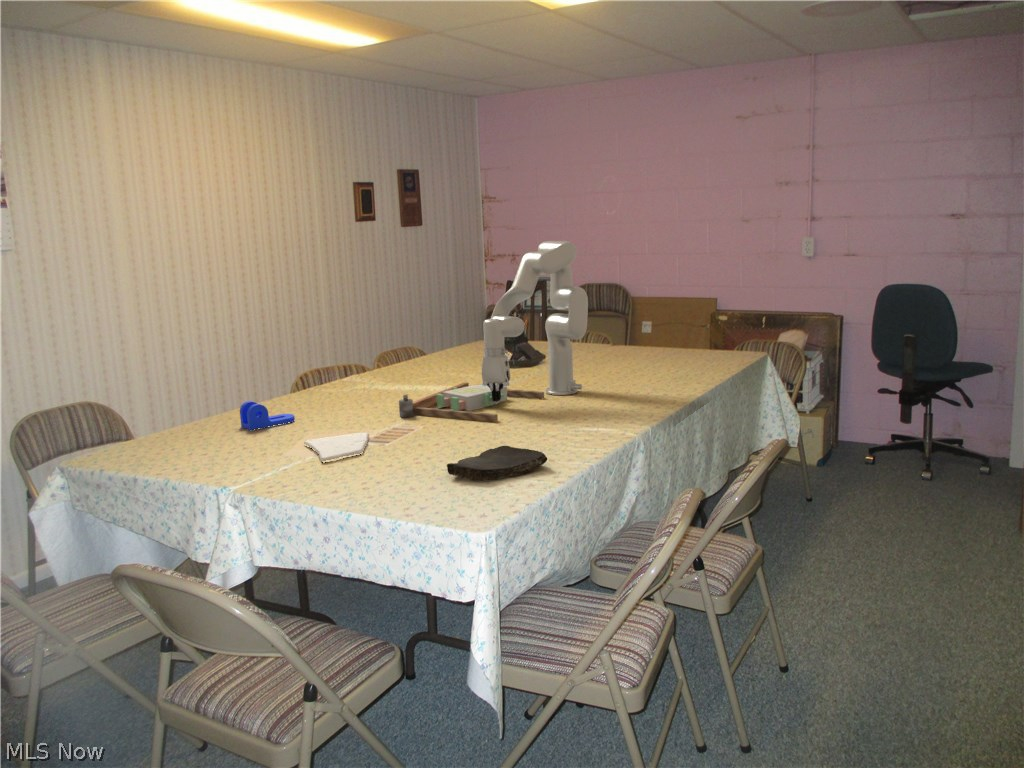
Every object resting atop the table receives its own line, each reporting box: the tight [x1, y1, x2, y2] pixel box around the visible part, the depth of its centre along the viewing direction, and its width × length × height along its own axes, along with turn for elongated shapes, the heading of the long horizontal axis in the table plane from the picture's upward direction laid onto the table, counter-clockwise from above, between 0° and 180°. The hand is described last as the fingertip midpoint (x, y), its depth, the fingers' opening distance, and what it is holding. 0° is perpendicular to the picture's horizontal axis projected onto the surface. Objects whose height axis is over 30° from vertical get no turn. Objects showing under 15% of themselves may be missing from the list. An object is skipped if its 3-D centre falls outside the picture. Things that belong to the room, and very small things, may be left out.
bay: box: [398, 382, 545, 423], centre depth 309 cm, size 38×46×8 cm
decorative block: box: [436, 383, 508, 412], centre depth 315 cm, size 26×6×20 cm
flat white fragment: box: [304, 432, 370, 462], centre depth 260 cm, size 21×4×25 cm
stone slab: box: [446, 445, 548, 481], centre depth 231 cm, size 26×7×20 cm
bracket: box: [239, 400, 296, 431], centre depth 295 cm, size 18×8×9 cm, turn 130°
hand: (496, 400), depth 308 cm, fingers closed
